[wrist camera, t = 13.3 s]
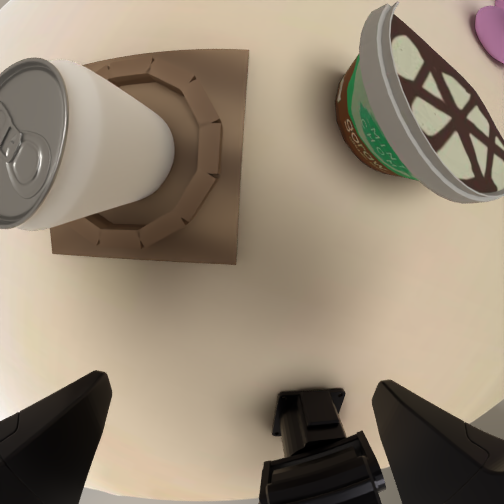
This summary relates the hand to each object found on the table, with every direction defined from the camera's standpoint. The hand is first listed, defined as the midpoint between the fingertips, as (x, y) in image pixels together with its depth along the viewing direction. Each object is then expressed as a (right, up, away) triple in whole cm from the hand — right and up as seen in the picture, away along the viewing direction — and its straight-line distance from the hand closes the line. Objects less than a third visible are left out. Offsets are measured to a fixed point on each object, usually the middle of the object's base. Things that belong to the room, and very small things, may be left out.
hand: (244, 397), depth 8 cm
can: (-8, +11, +9) cm, 17 cm away
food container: (+9, +13, +11) cm, 19 cm away
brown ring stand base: (-8, +11, +10) cm, 17 cm away
